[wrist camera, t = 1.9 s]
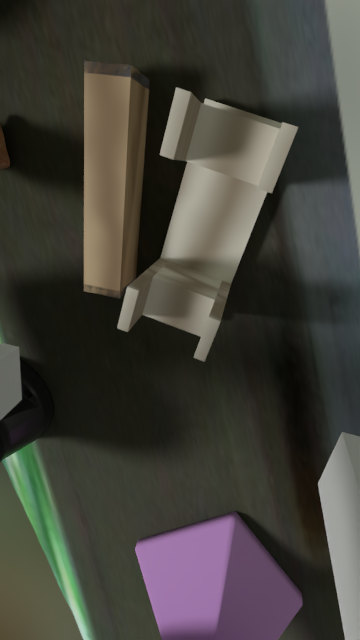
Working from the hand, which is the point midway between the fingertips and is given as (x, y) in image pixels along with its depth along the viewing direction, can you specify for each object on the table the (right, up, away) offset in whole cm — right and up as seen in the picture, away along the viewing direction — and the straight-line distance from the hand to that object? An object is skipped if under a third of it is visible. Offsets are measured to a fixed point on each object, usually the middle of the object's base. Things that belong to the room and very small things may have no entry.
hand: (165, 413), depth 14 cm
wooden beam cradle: (+4, +14, +22) cm, 26 cm away
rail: (-5, +17, +22) cm, 29 cm away
